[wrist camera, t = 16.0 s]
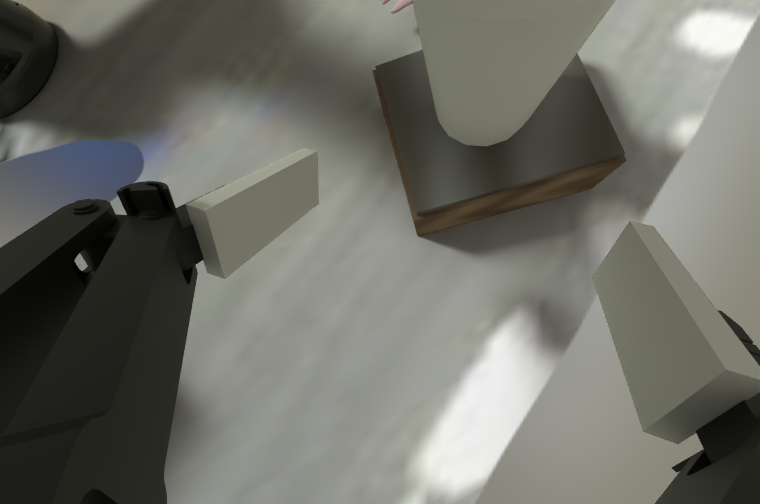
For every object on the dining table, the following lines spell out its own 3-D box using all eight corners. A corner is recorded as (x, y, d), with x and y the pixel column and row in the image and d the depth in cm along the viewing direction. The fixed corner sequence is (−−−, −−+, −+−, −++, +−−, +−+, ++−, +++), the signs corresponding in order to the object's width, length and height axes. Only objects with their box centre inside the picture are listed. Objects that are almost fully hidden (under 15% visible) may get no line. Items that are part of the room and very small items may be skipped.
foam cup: (583, 82, 20) (824, -295, 8) (505, 192, 20) (625, -17, 7) (461, 29, 23) (493, -320, 10) (389, 126, 22) (328, -114, 10)
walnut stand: (417, 236, 25) (413, 218, 21) (382, 106, 28) (370, 64, 24) (592, 187, 24) (632, 155, 19) (534, 55, 27) (556, -2, 22)
